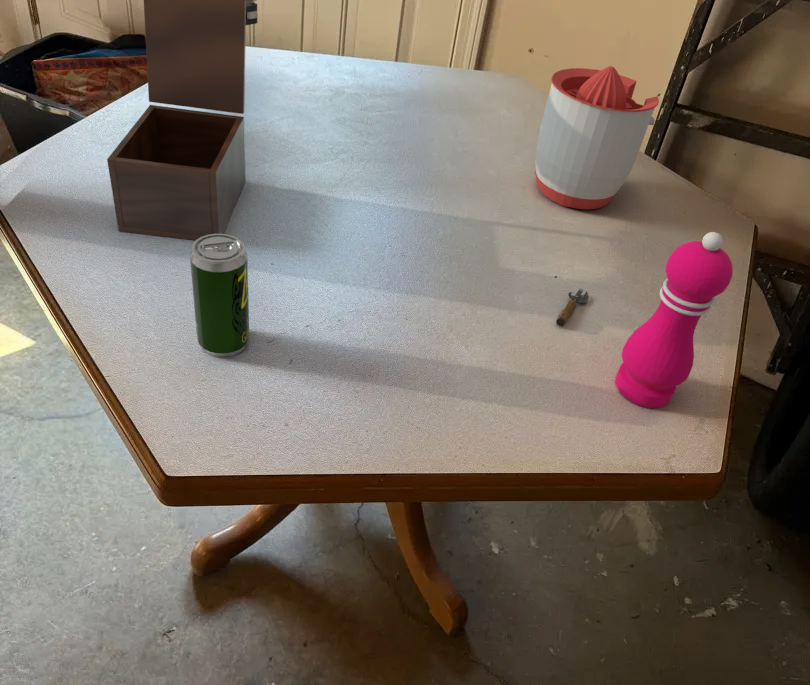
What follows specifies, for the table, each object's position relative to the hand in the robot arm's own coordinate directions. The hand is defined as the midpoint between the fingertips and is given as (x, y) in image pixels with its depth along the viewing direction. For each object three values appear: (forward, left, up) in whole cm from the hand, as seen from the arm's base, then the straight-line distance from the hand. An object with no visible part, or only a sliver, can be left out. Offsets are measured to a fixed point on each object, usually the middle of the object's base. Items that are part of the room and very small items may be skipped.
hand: (196, 26), depth 90 cm
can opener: (+51, -25, -20) cm, 60 cm away
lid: (0, -1, -1) cm, 2 cm away
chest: (0, -11, -20) cm, 23 cm away
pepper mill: (+57, -38, -20) cm, 71 cm away
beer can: (+11, -38, -20) cm, 44 cm away
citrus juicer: (+57, +7, -20) cm, 61 cm away
